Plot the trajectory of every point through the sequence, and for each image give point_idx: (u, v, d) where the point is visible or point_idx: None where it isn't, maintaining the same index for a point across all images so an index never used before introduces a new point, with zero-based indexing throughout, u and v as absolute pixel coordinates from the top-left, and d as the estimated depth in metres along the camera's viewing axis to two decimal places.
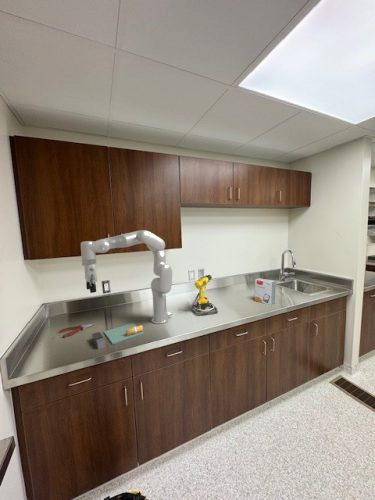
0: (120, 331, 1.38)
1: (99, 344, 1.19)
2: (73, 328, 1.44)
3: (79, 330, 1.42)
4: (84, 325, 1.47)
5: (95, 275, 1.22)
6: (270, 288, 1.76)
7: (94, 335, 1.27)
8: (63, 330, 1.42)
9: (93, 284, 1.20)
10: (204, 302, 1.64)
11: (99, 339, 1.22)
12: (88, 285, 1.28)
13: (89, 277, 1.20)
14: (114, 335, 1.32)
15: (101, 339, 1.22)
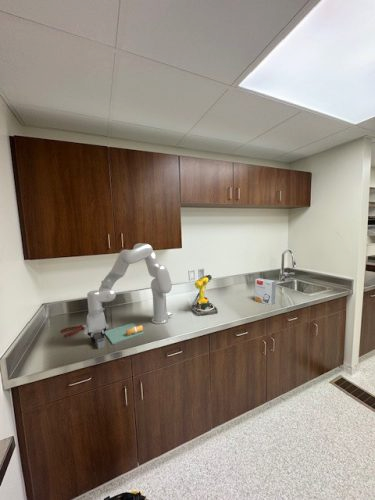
0: (120, 331, 1.38)
1: (99, 344, 1.19)
2: (74, 328, 1.44)
3: (80, 330, 1.42)
4: (85, 325, 1.47)
5: None
6: (270, 288, 1.76)
7: (94, 335, 1.27)
8: (64, 330, 1.42)
9: None
10: (204, 302, 1.64)
11: (99, 339, 1.22)
12: (93, 338, 1.25)
13: (105, 323, 1.28)
14: (114, 335, 1.32)
15: (101, 339, 1.22)
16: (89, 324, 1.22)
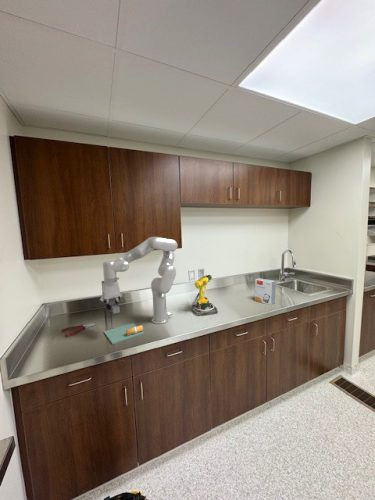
0: (120, 331, 1.38)
1: (115, 309, 1.27)
2: (75, 327, 1.45)
3: (81, 329, 1.43)
4: (86, 324, 1.48)
5: None
6: (270, 288, 1.76)
7: (109, 303, 1.35)
8: (65, 329, 1.42)
9: None
10: (204, 302, 1.64)
11: (114, 305, 1.31)
12: None
13: (119, 292, 1.36)
14: (114, 335, 1.32)
15: (116, 305, 1.31)
16: (104, 291, 1.30)
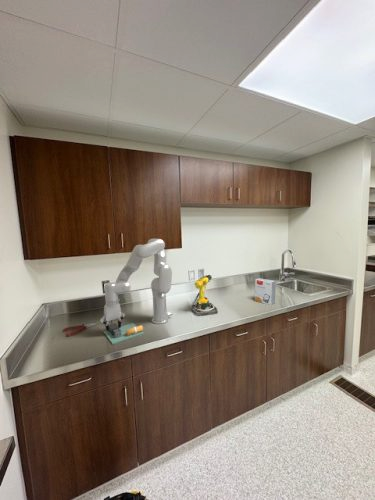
0: None
1: (116, 334, 1.29)
2: (76, 327, 1.45)
3: (82, 329, 1.43)
4: (87, 324, 1.48)
5: None
6: (270, 288, 1.76)
7: (111, 326, 1.36)
8: (66, 329, 1.43)
9: None
10: (204, 302, 1.64)
11: (116, 329, 1.32)
12: None
13: (121, 313, 1.37)
14: None
15: (118, 329, 1.32)
16: (106, 313, 1.31)
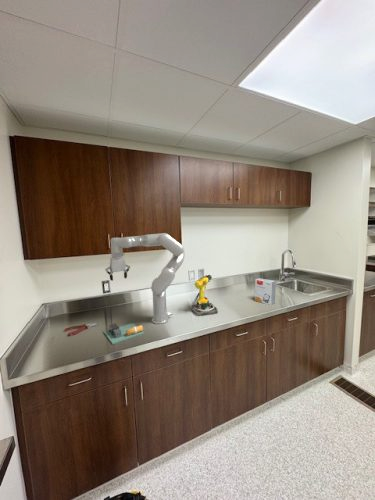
0: None
1: (116, 334, 1.29)
2: (78, 327, 1.46)
3: (84, 329, 1.43)
4: (89, 324, 1.49)
5: None
6: (270, 288, 1.76)
7: (111, 326, 1.36)
8: (68, 329, 1.43)
9: None
10: (204, 302, 1.64)
11: (116, 329, 1.32)
12: None
13: (125, 266, 1.50)
14: None
15: (118, 329, 1.32)
16: (112, 264, 1.44)
